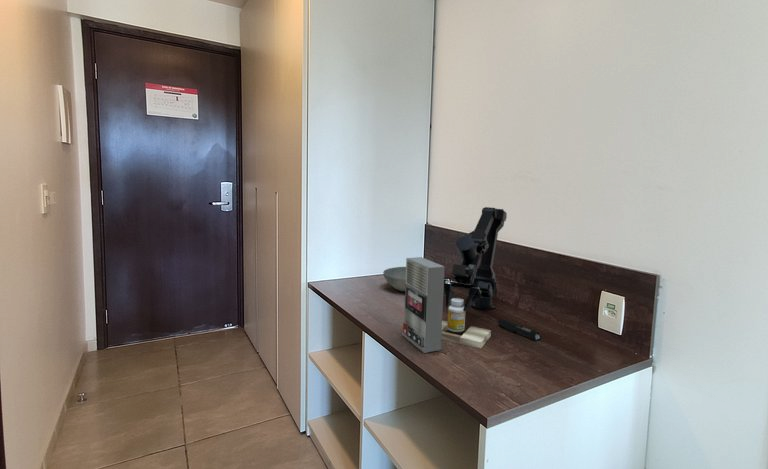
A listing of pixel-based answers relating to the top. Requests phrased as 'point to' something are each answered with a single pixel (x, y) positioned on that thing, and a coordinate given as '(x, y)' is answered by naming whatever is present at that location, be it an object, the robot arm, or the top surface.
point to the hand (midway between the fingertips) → (455, 309)
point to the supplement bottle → (456, 315)
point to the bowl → (396, 277)
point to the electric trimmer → (519, 329)
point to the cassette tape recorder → (423, 304)
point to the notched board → (467, 336)
